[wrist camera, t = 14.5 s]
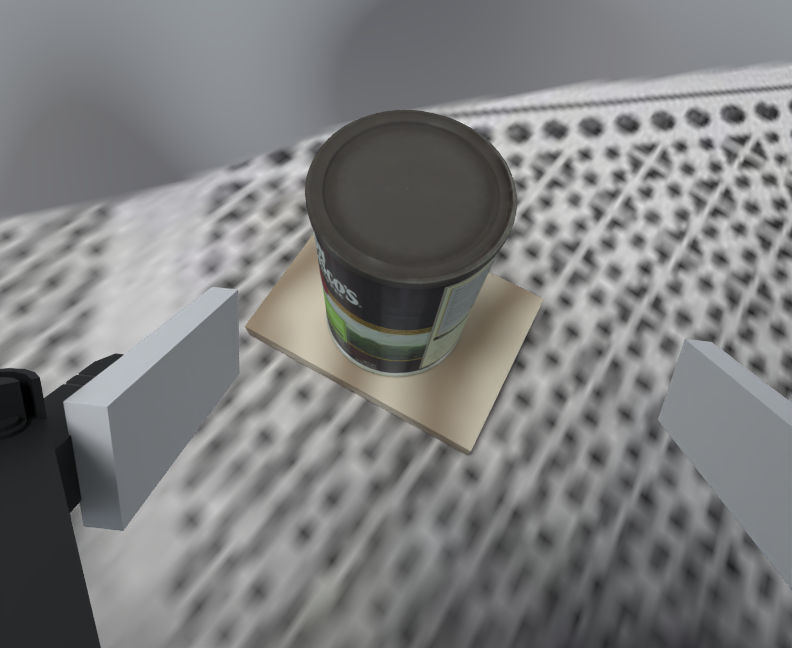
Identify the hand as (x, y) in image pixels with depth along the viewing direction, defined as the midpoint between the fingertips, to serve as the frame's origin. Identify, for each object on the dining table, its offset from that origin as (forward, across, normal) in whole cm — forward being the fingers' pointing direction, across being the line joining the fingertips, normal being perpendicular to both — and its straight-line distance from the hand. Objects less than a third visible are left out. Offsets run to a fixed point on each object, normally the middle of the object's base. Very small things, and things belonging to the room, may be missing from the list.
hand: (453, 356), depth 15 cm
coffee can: (+21, -2, -7) cm, 23 cm away
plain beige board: (+22, -2, -8) cm, 24 cm away
